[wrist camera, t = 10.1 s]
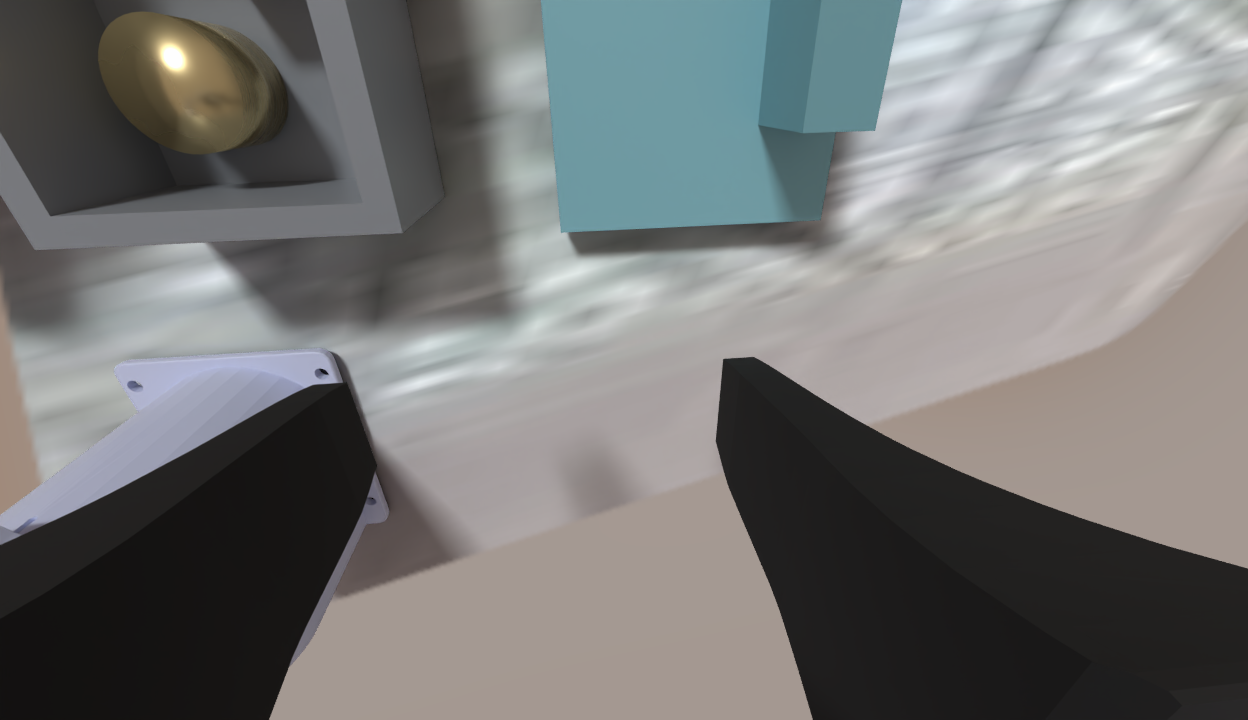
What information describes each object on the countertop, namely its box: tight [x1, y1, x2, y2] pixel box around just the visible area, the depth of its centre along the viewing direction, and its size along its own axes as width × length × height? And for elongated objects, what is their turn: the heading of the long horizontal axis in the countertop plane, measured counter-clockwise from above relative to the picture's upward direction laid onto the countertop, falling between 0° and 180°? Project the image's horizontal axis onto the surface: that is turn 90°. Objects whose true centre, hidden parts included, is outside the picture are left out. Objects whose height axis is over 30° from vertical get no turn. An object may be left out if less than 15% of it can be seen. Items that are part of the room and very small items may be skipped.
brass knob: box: [98, 12, 289, 154], centre depth 14 cm, size 3×3×2 cm
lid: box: [541, 0, 902, 233], centre depth 14 cm, size 11×9×5 cm
